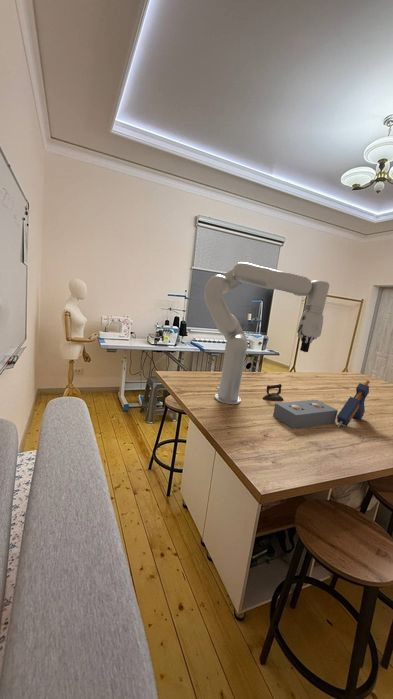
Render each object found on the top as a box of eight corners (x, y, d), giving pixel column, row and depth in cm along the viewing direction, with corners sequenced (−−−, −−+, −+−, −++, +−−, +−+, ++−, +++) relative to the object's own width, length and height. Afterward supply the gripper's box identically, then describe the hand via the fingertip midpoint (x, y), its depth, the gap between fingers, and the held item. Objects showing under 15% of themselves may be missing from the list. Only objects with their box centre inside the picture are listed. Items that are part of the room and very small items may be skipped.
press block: (272, 415, 127) (275, 403, 125) (313, 411, 139) (315, 399, 138) (293, 428, 116) (296, 415, 115) (334, 422, 129) (337, 410, 128)
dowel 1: (286, 416, 125) (289, 405, 124) (294, 415, 127) (296, 404, 126) (294, 420, 121) (296, 409, 120) (301, 419, 124) (304, 408, 123)
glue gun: (335, 442, 132) (333, 422, 124) (358, 396, 147) (358, 375, 138) (349, 448, 128) (348, 427, 119) (372, 399, 143) (372, 378, 134)
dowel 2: (307, 413, 131) (309, 403, 130) (314, 412, 134) (316, 402, 132) (315, 417, 128) (317, 407, 127) (321, 416, 130) (324, 406, 129)
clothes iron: (284, 401, 149) (286, 384, 145) (267, 407, 144) (268, 390, 140) (274, 394, 155) (276, 378, 151) (258, 401, 150) (259, 384, 146)
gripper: (307, 309, 117) (297, 352, 121) (332, 313, 124) (322, 354, 127) (294, 307, 124) (285, 348, 127) (319, 310, 130) (309, 349, 134)
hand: (303, 351), depth 127 cm, fingers closed
